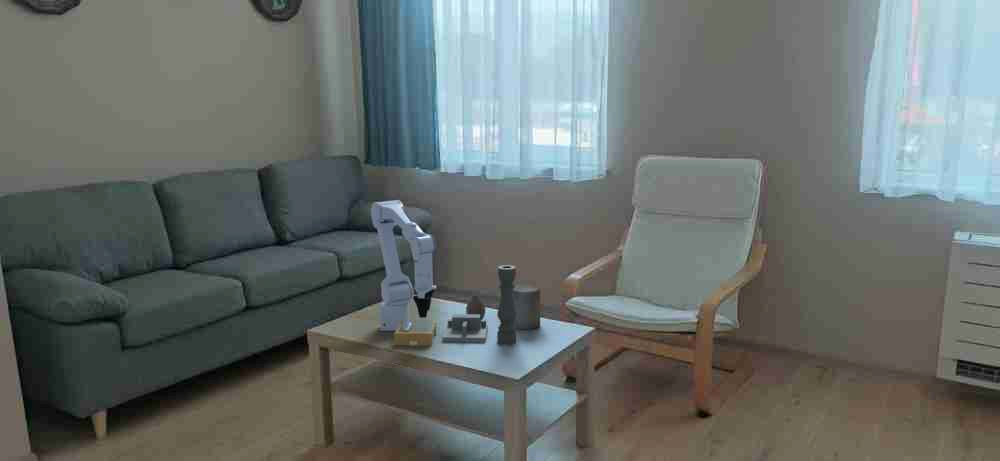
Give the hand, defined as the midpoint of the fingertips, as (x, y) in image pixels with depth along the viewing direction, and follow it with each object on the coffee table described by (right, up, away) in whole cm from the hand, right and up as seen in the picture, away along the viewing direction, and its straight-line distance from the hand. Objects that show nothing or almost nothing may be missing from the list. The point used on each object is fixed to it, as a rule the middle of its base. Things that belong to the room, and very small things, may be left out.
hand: (424, 313), depth 246 cm
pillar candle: (+33, -6, +18) cm, 39 cm away
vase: (+16, -5, +25) cm, 30 cm away
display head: (+13, -8, +8) cm, 17 cm away
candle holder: (+27, -10, +2) cm, 28 cm away
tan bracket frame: (-3, -9, +4) cm, 10 cm away
